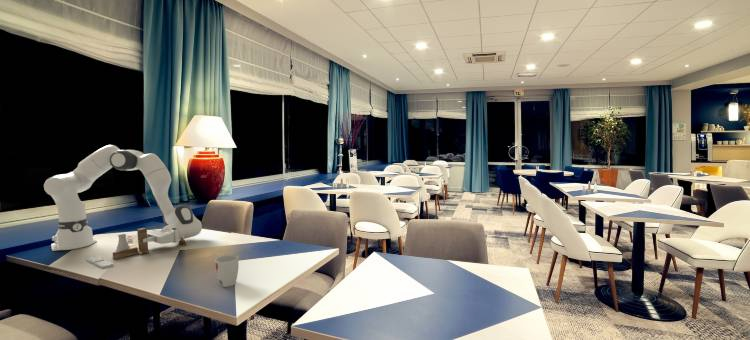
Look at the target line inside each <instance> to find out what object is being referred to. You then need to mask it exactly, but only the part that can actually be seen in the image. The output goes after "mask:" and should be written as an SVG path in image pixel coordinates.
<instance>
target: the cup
mask: <svg viewBox="0 0 750 340" xmlns="http://www.w3.org/2000/svg"><path fill="white" fill-rule="evenodd" d="M239 259H240V258H239V255H236V254H227V255H226V254H225V255H221V256H218V257H216V258H215V259H214V260H215V261H214V262H215V269H216V274H217V278H218V281H219V284H220V286H221V287H223V288H227V287H232V286H235V285H236V283H237V279H238V276H239V275H238V274H239Z"/></svg>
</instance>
